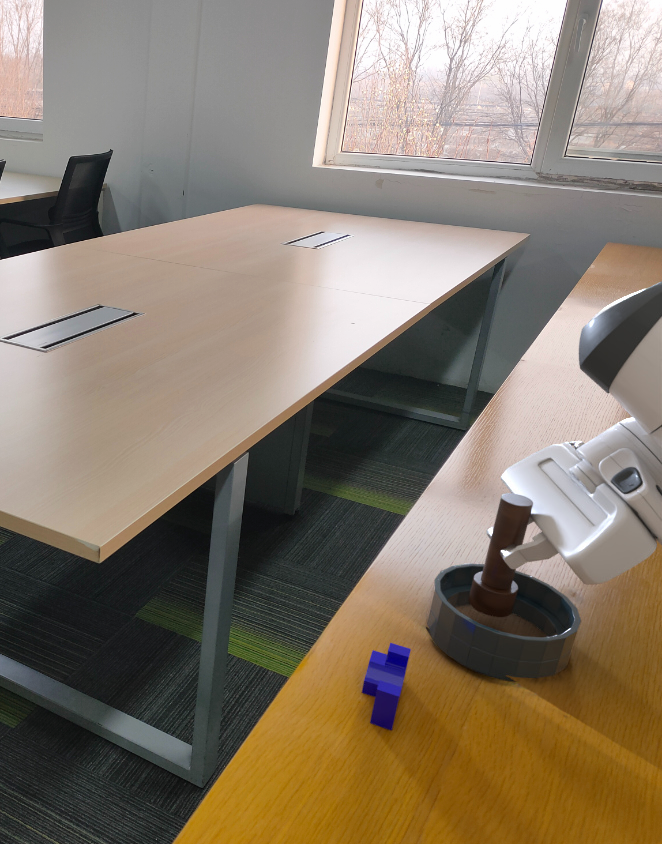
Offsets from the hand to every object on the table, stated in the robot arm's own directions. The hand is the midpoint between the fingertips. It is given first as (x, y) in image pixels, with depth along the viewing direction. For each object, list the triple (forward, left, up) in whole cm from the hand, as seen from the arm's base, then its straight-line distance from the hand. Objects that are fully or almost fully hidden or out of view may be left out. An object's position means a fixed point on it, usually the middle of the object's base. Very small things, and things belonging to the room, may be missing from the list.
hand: (498, 550), depth 85 cm
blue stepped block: (-1, +17, -11) cm, 21 cm away
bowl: (-2, -1, -11) cm, 11 cm away
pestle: (0, 0, -7) cm, 7 cm away
